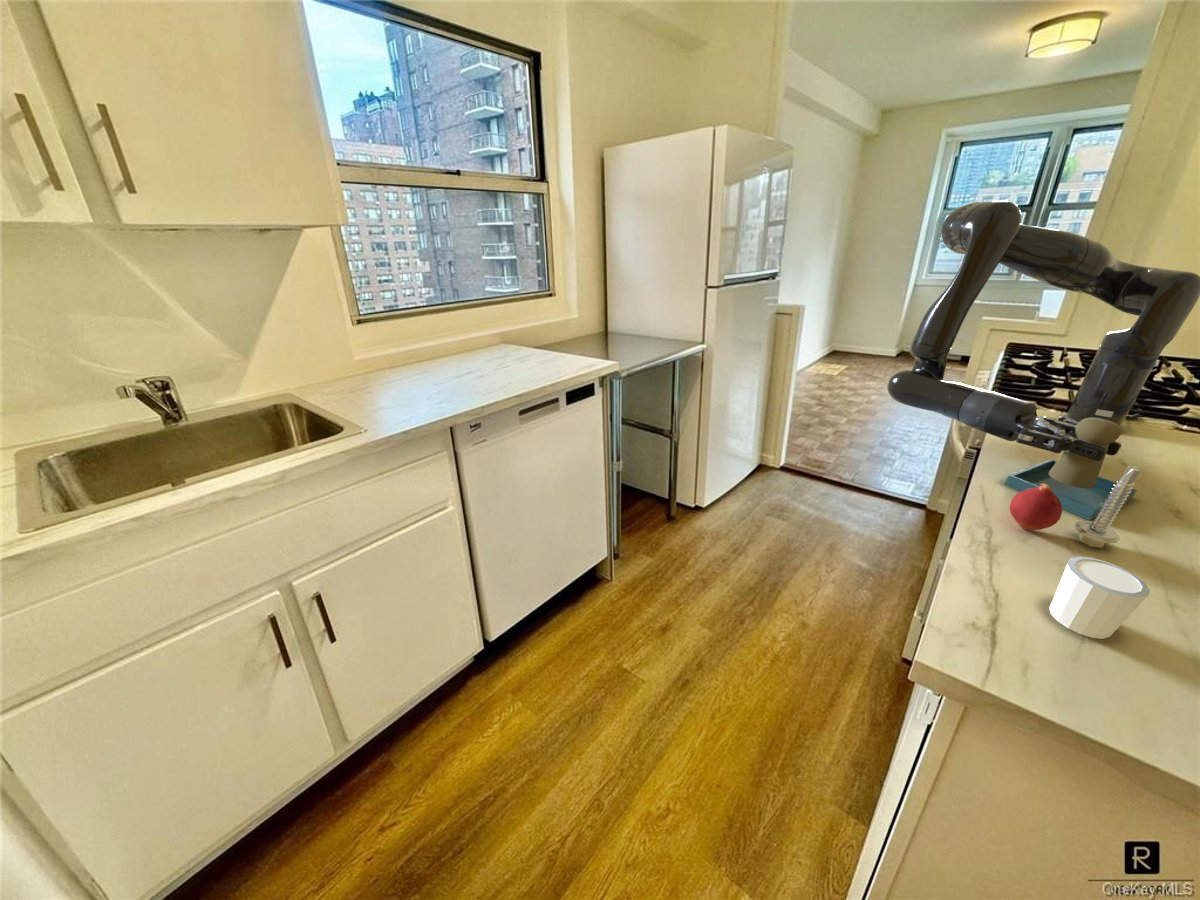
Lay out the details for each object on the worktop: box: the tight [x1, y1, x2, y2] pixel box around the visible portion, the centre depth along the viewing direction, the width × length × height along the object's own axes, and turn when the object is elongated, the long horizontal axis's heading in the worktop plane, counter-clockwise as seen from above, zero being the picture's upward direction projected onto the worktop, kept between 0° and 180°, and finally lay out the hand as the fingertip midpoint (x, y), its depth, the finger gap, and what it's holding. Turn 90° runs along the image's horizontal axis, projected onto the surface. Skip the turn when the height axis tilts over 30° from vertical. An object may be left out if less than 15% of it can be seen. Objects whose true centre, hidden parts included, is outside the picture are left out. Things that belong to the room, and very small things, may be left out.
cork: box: [1049, 418, 1122, 488], centre depth 80 cm, size 6×6×11 cm
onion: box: [1009, 484, 1063, 531], centre depth 72 cm, size 6×6×8 cm
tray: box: [1004, 458, 1137, 521], centre depth 83 cm, size 14×12×2 cm
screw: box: [1073, 465, 1141, 548], centre depth 68 cm, size 13×5×5 cm
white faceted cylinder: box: [1048, 556, 1151, 640], centre depth 56 cm, size 7×7×7 cm
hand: (1110, 452), depth 78 cm, fingers closed on cork, 4 cm apart
